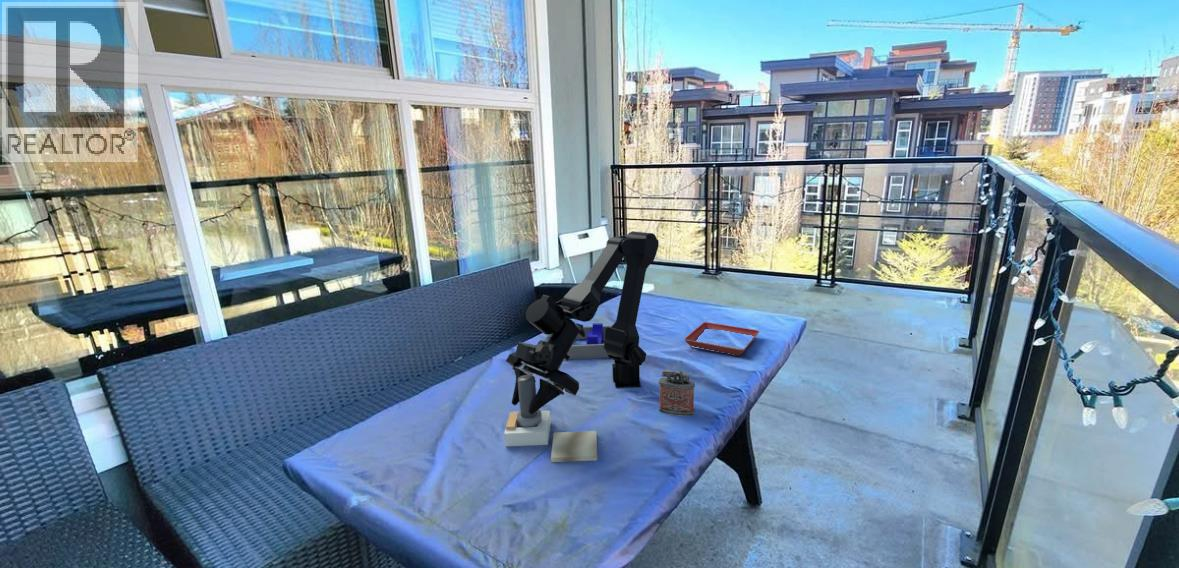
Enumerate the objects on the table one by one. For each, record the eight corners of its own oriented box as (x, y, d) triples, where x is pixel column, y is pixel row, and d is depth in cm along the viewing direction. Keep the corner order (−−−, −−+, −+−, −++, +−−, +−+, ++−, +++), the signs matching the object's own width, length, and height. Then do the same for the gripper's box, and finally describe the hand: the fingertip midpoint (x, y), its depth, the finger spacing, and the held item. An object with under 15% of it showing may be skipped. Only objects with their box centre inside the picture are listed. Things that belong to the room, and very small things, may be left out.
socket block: (550, 422, 111) (549, 407, 110) (547, 444, 103) (546, 428, 102) (511, 424, 111) (510, 409, 110) (505, 446, 103) (503, 430, 102)
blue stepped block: (589, 340, 159) (588, 323, 158) (603, 341, 159) (602, 323, 157) (582, 355, 148) (582, 336, 147) (597, 355, 147) (597, 336, 146)
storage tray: (613, 337, 161) (613, 325, 160) (616, 357, 145) (616, 344, 144) (562, 339, 161) (562, 327, 160) (560, 359, 145) (559, 346, 144)
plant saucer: (759, 339, 155) (760, 329, 154) (743, 360, 140) (743, 349, 139) (703, 331, 164) (704, 321, 164) (683, 349, 150) (683, 339, 149)
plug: (543, 427, 109) (539, 372, 106) (541, 440, 104) (537, 383, 101) (520, 428, 109) (515, 373, 106) (517, 441, 104) (512, 384, 101)
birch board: (596, 435, 105) (596, 430, 105) (597, 460, 97) (597, 455, 96) (554, 436, 105) (553, 432, 105) (551, 462, 97) (550, 457, 96)
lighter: (695, 410, 114) (695, 370, 111) (693, 417, 111) (693, 376, 108) (660, 405, 116) (660, 366, 114) (657, 413, 113) (657, 372, 111)
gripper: (508, 318, 110) (470, 380, 105) (565, 336, 97) (525, 409, 93) (538, 341, 118) (504, 400, 113) (595, 361, 105) (559, 429, 100)
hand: (521, 408), depth 104 cm, fingers open, 5 cm apart
